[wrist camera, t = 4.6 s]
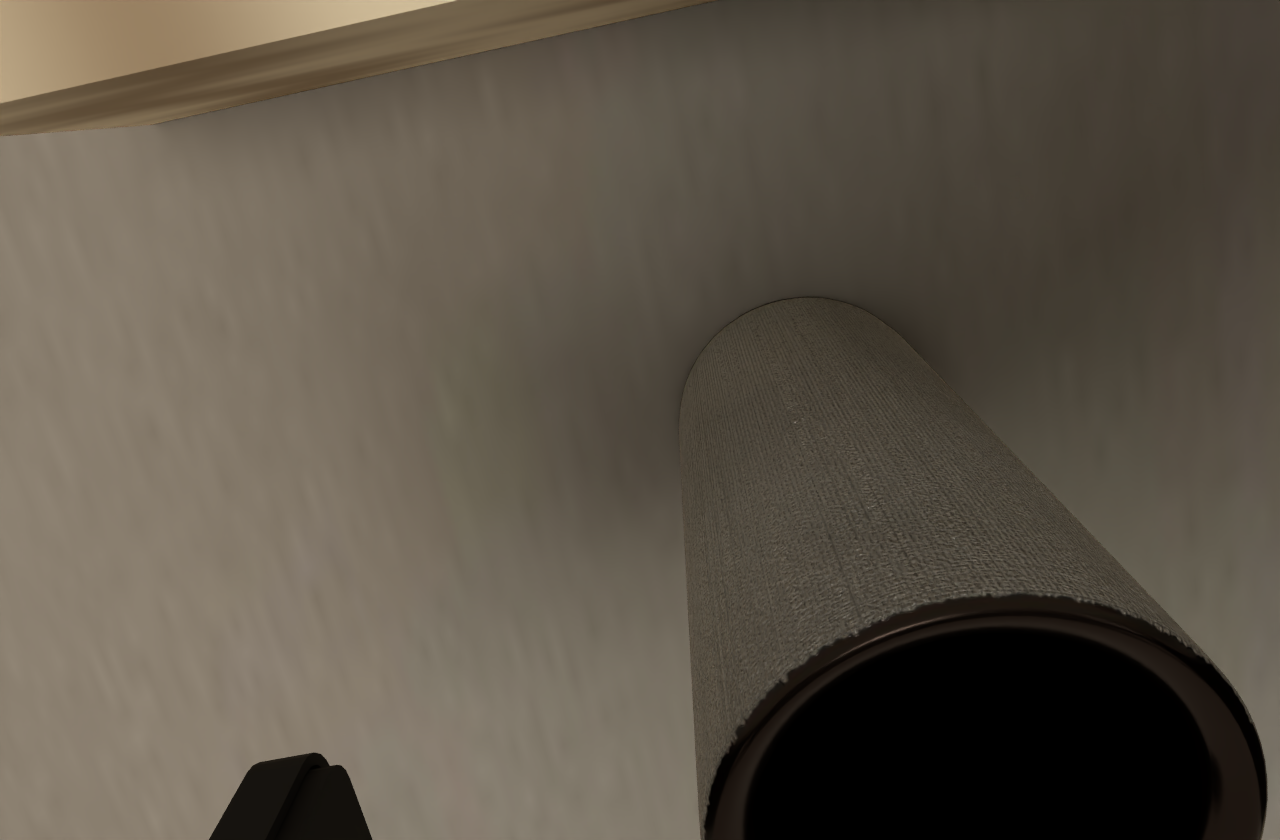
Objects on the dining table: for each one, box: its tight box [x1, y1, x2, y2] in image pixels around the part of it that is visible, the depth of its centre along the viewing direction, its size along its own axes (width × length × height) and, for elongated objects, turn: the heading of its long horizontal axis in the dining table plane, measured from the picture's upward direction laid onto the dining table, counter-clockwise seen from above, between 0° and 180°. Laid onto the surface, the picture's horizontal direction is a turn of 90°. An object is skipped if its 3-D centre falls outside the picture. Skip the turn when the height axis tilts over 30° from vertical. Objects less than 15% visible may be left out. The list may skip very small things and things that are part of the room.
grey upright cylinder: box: [679, 298, 1267, 840], centre depth 12 cm, size 4×4×10 cm
